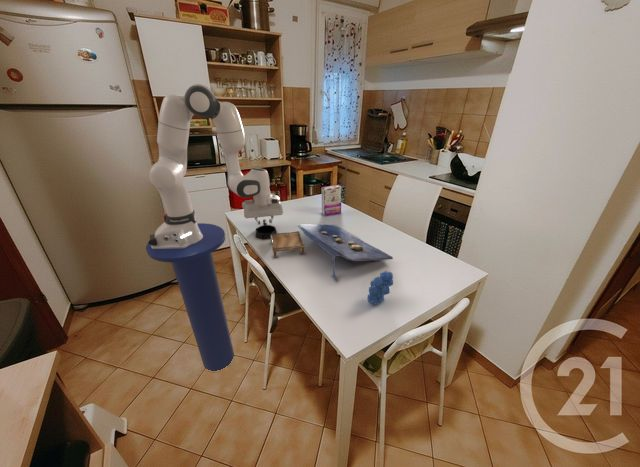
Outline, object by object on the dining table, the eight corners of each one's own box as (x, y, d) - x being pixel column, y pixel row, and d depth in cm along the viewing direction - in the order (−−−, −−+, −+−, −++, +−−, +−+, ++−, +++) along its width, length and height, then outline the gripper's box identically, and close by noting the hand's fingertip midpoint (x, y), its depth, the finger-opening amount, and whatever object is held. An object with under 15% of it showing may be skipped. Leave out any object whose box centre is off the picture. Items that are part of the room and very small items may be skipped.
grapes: (380, 288, 97) (383, 261, 91) (394, 298, 92) (400, 270, 87) (358, 301, 91) (360, 273, 85) (372, 313, 86) (376, 284, 80)
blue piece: (288, 242, 132) (292, 220, 129) (331, 241, 148) (335, 222, 145) (343, 286, 97) (350, 257, 94) (391, 279, 113) (399, 254, 110)
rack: (273, 258, 114) (272, 248, 112) (270, 243, 126) (270, 234, 124) (305, 254, 117) (304, 245, 115) (299, 239, 129) (299, 230, 127)
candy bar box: (337, 210, 163) (338, 184, 155) (341, 213, 159) (342, 187, 151) (321, 212, 159) (321, 186, 151) (324, 216, 155) (324, 189, 147)
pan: (256, 240, 128) (256, 235, 127) (255, 224, 144) (254, 219, 143) (277, 238, 131) (276, 232, 129) (273, 222, 146) (273, 217, 145)
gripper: (241, 203, 130) (245, 228, 136) (282, 199, 135) (284, 224, 141) (241, 198, 135) (245, 223, 142) (281, 195, 140) (282, 219, 146)
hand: (264, 223), depth 141 cm, fingers open, 5 cm apart
